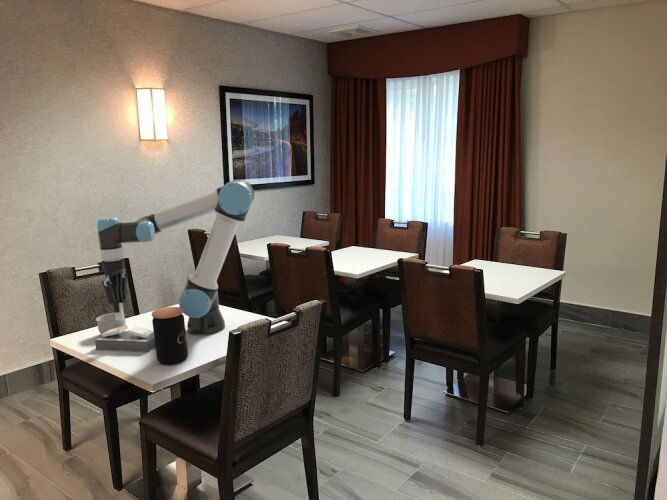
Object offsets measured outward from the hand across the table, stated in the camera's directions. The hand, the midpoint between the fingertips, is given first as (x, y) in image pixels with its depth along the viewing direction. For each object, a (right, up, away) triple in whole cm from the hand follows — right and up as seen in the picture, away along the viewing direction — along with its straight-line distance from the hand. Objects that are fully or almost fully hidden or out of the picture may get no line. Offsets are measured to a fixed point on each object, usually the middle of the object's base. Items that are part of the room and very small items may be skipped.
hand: (120, 319), depth 207 cm
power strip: (+5, -10, +1) cm, 12 cm away
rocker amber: (-3, -5, +2) cm, 6 cm away
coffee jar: (+24, -13, -14) cm, 31 cm away
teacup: (-9, -8, +17) cm, 21 cm away
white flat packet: (+8, -5, -1) cm, 9 cm away
